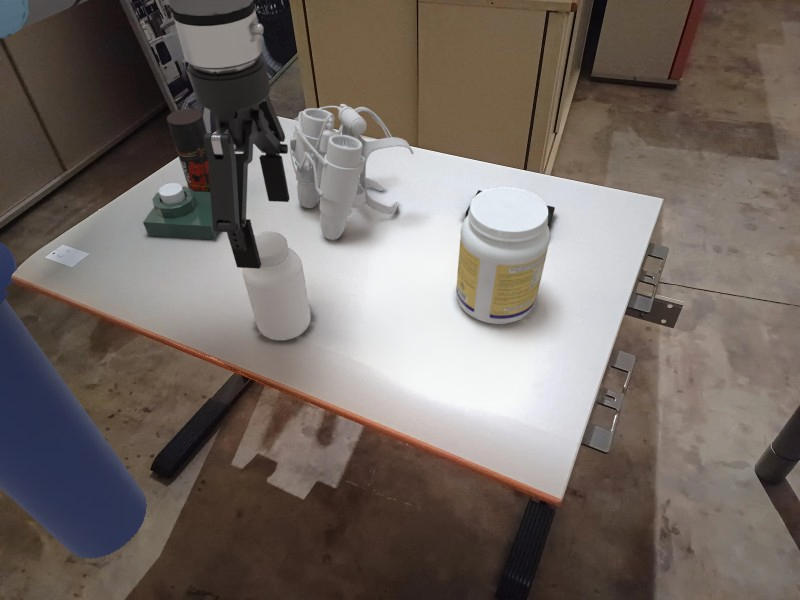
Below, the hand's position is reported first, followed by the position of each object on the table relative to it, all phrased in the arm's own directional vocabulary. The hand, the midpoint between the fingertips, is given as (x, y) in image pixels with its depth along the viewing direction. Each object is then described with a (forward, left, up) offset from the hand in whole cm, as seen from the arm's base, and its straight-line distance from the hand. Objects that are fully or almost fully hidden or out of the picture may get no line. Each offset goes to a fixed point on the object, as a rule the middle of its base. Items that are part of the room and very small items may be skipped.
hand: (265, 230), depth 70 cm
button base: (-23, +23, -17) cm, 37 cm away
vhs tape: (+34, +29, -17) cm, 48 cm away
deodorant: (-24, +33, -17) cm, 44 cm away
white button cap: (-25, +23, -12) cm, 36 cm away
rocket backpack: (+6, +30, -17) cm, 35 cm away
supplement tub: (+31, +8, -17) cm, 36 cm away
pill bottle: (0, 0, -17) cm, 17 cm away
